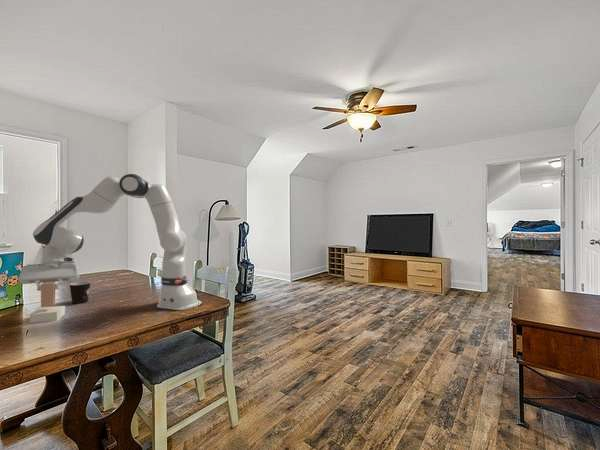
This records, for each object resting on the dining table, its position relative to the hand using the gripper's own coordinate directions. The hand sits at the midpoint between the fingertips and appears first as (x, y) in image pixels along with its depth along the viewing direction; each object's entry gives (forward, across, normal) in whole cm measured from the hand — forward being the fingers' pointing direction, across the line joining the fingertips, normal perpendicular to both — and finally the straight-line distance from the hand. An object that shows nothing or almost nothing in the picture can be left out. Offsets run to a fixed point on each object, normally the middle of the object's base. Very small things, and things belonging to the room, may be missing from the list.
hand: (47, 289), depth 121 cm
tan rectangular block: (+5, 0, +6) cm, 7 cm away
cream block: (+9, 0, +10) cm, 13 cm away
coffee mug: (-7, +10, +26) cm, 28 cm away
